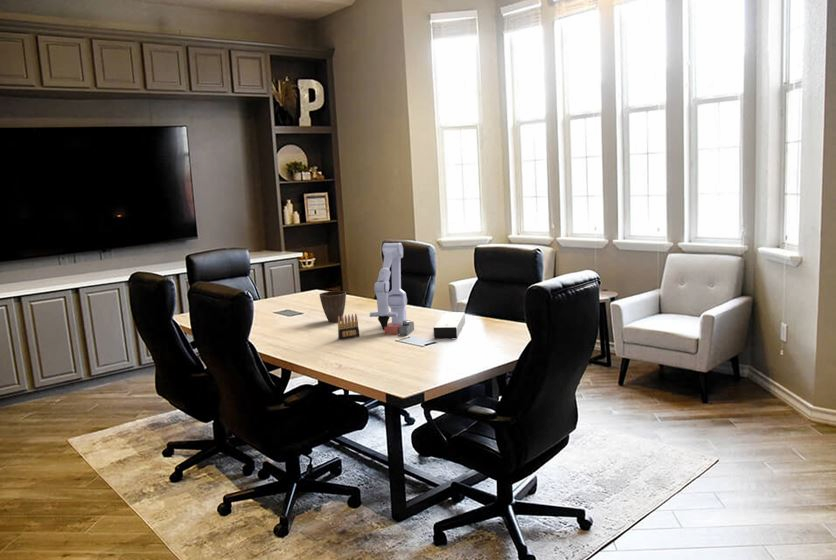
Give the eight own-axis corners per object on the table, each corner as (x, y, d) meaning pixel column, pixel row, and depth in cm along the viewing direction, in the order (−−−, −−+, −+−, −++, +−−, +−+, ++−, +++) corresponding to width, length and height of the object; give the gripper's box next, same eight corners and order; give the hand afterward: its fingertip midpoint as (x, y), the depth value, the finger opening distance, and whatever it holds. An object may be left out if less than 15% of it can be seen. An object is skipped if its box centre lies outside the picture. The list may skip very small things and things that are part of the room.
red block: (389, 330, 355) (389, 323, 354) (402, 330, 353) (402, 323, 352) (384, 334, 347) (384, 327, 347) (397, 334, 345) (397, 327, 345)
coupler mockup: (393, 329, 356) (393, 318, 355) (414, 329, 353) (413, 318, 352) (386, 335, 345) (385, 323, 344) (407, 335, 342) (406, 323, 341)
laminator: (456, 339, 329) (456, 327, 328) (431, 340, 332) (431, 327, 331) (465, 323, 362) (464, 312, 361) (442, 323, 365) (441, 312, 364)
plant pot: (317, 324, 380) (315, 296, 377) (327, 318, 394) (325, 290, 391) (342, 324, 376) (340, 295, 373) (351, 318, 390) (349, 290, 388)
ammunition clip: (339, 339, 342) (337, 316, 340) (338, 339, 343) (336, 315, 341) (359, 336, 345) (358, 313, 343) (358, 336, 347) (356, 312, 345)
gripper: (366, 306, 347) (368, 332, 350) (393, 306, 343) (395, 332, 345) (371, 303, 354) (373, 328, 356) (398, 303, 350) (399, 329, 352)
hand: (384, 330), depth 351 cm, fingers closed
